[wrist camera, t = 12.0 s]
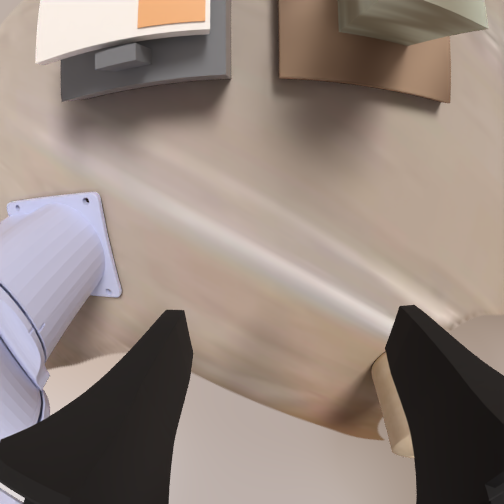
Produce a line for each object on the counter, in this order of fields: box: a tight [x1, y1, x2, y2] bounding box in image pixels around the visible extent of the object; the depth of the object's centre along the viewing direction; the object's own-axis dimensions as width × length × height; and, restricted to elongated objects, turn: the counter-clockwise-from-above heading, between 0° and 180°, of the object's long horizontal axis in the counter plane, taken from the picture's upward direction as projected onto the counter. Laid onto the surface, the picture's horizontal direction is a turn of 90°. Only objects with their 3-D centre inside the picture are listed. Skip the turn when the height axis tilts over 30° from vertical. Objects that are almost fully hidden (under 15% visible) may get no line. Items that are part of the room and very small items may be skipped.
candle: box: [371, 352, 414, 458], centre depth 20 cm, size 6×6×10 cm
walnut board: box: [278, 0, 451, 103], centre depth 11 cm, size 10×10×1 cm
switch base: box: [61, 0, 231, 102], centre depth 10 cm, size 9×8×4 cm
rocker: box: [35, 0, 210, 65], centre depth 8 cm, size 8×4×1 cm, turn 90°
